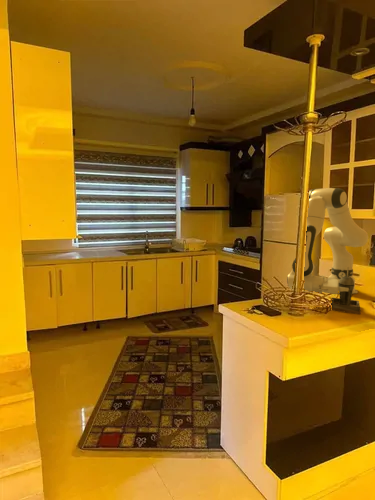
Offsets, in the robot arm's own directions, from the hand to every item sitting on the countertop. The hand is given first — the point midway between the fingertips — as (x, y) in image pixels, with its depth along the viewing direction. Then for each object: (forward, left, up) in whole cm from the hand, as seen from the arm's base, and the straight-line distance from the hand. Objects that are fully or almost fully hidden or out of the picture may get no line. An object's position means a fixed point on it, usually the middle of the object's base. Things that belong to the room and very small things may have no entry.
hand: (348, 287), depth 178 cm
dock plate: (0, -1, -11) cm, 11 cm away
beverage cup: (0, -1, -10) cm, 10 cm away
